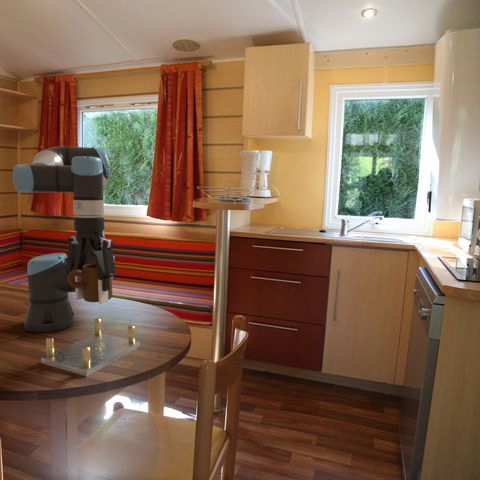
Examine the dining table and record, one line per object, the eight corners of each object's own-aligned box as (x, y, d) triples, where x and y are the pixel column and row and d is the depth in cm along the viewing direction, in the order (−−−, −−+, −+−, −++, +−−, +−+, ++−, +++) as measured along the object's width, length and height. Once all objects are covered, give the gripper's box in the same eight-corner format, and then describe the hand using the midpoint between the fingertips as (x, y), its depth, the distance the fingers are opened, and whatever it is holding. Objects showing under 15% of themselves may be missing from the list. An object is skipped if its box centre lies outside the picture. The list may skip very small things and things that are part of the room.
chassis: (41, 363, 104) (40, 339, 103) (98, 337, 122) (97, 316, 121) (86, 376, 97) (85, 351, 96) (140, 346, 115) (139, 325, 114)
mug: (75, 308, 101) (73, 272, 100) (62, 302, 106) (60, 268, 105) (117, 298, 110) (116, 265, 109) (103, 293, 115) (102, 261, 114)
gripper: (49, 215, 105) (53, 299, 108) (108, 219, 97) (111, 309, 100) (72, 213, 112) (75, 292, 115) (129, 217, 104) (131, 301, 107)
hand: (92, 300), depth 108 cm, fingers closed on mug, 7 cm apart
